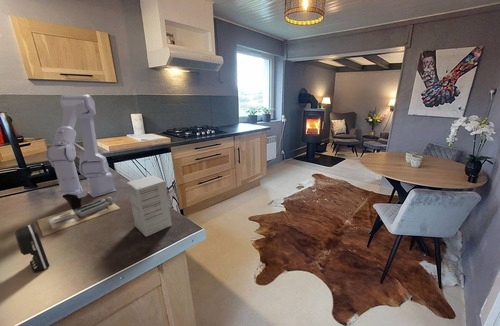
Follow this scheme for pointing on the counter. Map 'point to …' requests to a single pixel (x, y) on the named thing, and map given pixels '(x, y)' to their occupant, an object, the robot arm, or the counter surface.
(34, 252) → the battery charger
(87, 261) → the counter surface
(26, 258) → the counter surface
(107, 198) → the grey slotted block
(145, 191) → the supplement box
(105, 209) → the label board
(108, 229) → the counter surface
